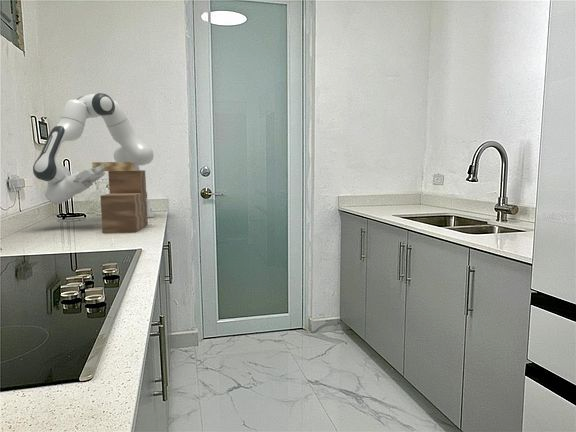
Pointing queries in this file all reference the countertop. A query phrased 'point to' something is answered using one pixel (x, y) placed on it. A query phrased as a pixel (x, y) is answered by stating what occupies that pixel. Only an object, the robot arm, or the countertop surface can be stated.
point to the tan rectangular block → (115, 166)
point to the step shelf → (125, 202)
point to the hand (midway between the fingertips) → (106, 165)
